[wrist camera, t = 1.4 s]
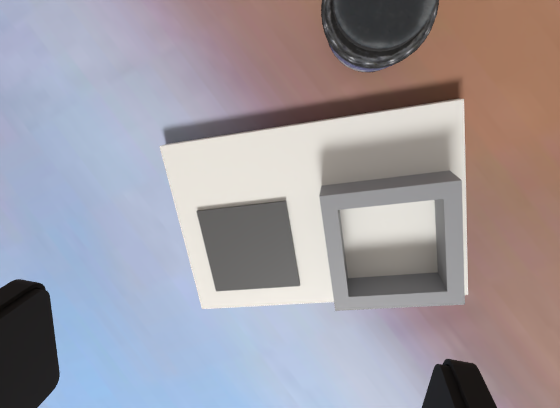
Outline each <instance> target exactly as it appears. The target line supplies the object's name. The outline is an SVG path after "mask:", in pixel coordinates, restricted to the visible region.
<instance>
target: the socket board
mask: <svg viewBox="0 0 560 408" xmlns="http://www.w3.org/2000/svg"><path fill="white" fill-rule="evenodd" d="M160 150H161V154H162V157H163V161H164V165H165V169H166V173H167V176H168V180H169V184H170V188H171V192H172V196H173V199H174V203H175V207H176V211H177V215H178V219H179V222H180V226H181V230H182V234H183V238H184V242H185V245H186V249H187V253H188V257H189V261H190V265H191V268H192V272H193V276H194V280H195V284H196V288H197V291H198V295H199V299H200V303H201V307H202V309H212V308H231V307H250V306H268V305H287V304H305V303H324V302H334V304H335V311H340V310H360V309H381V308H401V307H422V306H442V305H463V304H465V295H468V269H467V221H466V173H465V125H464V99H453V100H446V101H440V102H433V103H427V104H421V105H414V106H408V107H401V108H395V109H388V110H382V111H376V112H369V113H363V114H356V115H350V116H343V117H337V118H330V119H324V120H318V121H311V122H305V123H298V124H292V125H285V126H279V127H273V128H266V129H260V130H253V131H247V132H240V133H234V134H228V135H221V136H215V137H208V138H202V139H195V140H189V141H182V142H176V143H170V144H165V145H162V146H160Z"/></svg>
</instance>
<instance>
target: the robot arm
mask: <svg viewBox="0 0 560 408" xmlns="http://www.w3.org/2000/svg"><path fill="white" fill-rule="evenodd" d="M59 374H60V373H59V365H58V357H57V349H56V342H55V334H54V326H53V318H52V310H51V302H50V295H49V293H48V292H47V291H46V290H45V287H44V286H43V284H40V283H37V282H31V281H26V280H20V279H18V280H14V281H12V282H10V283H8V284H6V285H5V286H3V287H2V288H0V408H37V407H38V406H39V405H40V404H41V403H42V402H43V401H44V400H45V399H46V398H47V397H48V396H49V394H50V393H51V392H52V391H53V390H54V389H55V387H56V385H57V383H58V381H59ZM422 408H497V406H496V404H495V402H494V400H493V398H492V396H491V394H490V392H489V390H488V388H487V386H486V384H485V382H484V379H483V377H482V375H481V373H480V371H479V369H478V368H477V366H476V365H475V364H473V363H468V362H462V361H457V360H451V359H446V360H445V361H444V363H443V365H441V364H436V365H435V367H434V370H433V373H432V376H431V380H430V383H429V386H428V389H427V393H426V396H425V399H424V402H423V406H422Z"/></svg>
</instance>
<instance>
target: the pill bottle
mask: <svg viewBox="0 0 560 408" xmlns="http://www.w3.org/2000/svg"><path fill="white" fill-rule="evenodd" d="M438 5H439V0H322V5H321V8H322V9H321V13H322V14H321V15H322V16H321V17H322V24H323V29H324V32H325V35H326V38H327V40H328V43H329V46H330V48H331V49H332V51H333V53H334V55H335V56H336V57H337V59H338V60H339V61H340V62H341V63H343V64H344V65H345V66H347V67H348V68H351V69H353V70H356V71H360V72H375V71H379V70H382V69H384V68H386V67H389V66H392V65H394V64H396V63H398V62H400V61H402V60H403V59H405V58H407V57H408V56H409V55H411V54H412V53H413V52H415V51H416V50H417V49H418V48H419V47H420V45H421V44H422V43H423V42H424V41H425V39H426V38H427V35H428V34H429V33H430V31H431V29H432V26H433V23H434V20H435V18H436V15H437V10H438Z"/></svg>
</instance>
